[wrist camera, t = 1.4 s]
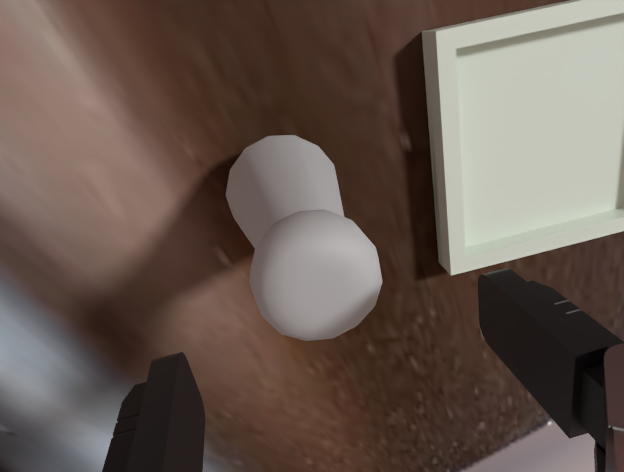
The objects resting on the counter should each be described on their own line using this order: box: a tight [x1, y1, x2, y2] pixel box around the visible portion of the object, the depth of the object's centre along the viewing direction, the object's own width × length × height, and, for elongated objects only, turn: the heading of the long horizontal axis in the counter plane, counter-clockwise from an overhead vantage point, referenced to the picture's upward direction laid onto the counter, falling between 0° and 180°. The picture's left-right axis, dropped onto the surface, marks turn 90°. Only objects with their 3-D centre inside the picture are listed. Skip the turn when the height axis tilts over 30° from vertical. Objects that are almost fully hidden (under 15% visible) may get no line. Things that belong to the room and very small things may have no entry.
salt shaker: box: [226, 135, 382, 341], centre depth 20 cm, size 6×6×13 cm
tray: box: [422, 0, 624, 275], centre depth 27 cm, size 14×14×2 cm
